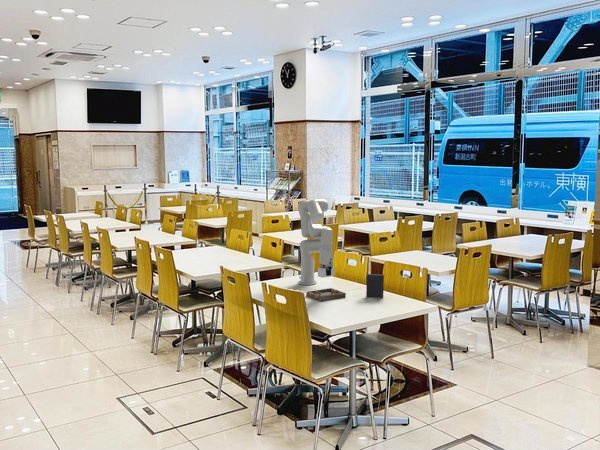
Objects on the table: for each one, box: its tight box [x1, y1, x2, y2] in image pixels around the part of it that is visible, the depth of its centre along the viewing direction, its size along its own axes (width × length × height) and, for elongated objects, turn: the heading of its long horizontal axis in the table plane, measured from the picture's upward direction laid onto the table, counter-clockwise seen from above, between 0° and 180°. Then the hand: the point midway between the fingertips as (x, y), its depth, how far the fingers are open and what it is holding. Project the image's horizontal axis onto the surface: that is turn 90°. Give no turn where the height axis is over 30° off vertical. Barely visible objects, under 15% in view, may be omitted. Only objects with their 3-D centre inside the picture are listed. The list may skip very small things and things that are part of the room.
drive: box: [317, 265, 336, 278], centre depth 377 cm, size 5×10×6 cm, turn 125°
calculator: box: [365, 273, 385, 299], centre depth 379 cm, size 11×4×15 cm, turn 84°
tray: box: [305, 287, 347, 302], centre depth 379 cm, size 16×20×4 cm
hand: (326, 274), depth 377 cm, fingers closed on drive, 5 cm apart
